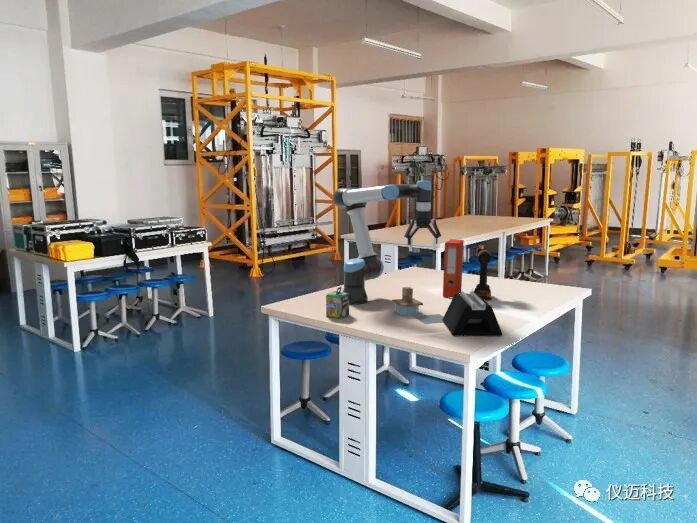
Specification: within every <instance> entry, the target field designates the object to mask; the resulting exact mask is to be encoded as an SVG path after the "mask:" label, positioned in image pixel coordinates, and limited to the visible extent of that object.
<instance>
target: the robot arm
mask: <svg viewBox="0 0 697 523" xmlns="http://www.w3.org/2000/svg"><path fill="white" fill-rule="evenodd" d="M432 190H433V189H432V182H431V181H430V180H417V182H416V183H415V184H412V183H401V184H387V185H380V186H379V185H378V186H372V187H364V188H363V187H362V188H361V187H340V188H338V189H336V190H335V191H334V192H333V195H332V201H333V204H334V206H336V207H337V208H339V209H345V211H346V214H348V215H349V217H350V221H351V225H352V231H353V234H354V239H355V244H356V248H357V251H358V256H357V258H350V259H347V260H345V262H344V264H343V290H342V292H346V293H350V294H349V305H350V304H351V305H359V304H365V303H368V302H369V300H368V299H369V298H368V294H367V291H366V285H365V283H366V281H370V280H375V279H378V278H379V277H381V276H382V274H383V273H384V267H385V266H384V265H385V264H384V263H383V260H381V259H380V258H379V257H378V254H377V253H376V252H375V251H374V249H373V243H372V239H371V235H370V231H369V227H368V226H369V225H368V223H367V218H366V214H365V211H366V209H367V207H366V205H367V203H371V202H378V201H380V202H381V201H392V200H400V199H402V200H405V199H414V200H416V203H415V204H416V205H415V207H416V208H415V210H416V213H415V214H416V215H415V220H414V219H410V223H409V225H408V227H407V228H406V232H405V233H404V235H403V237H404V238H406V239H407V245H408V251H409V252H413V243H414V242H413V241H414V240H413V237H414V235H416V233H417V231H419V230H420V229H427V230H428V231H429V233H430V234H431V235H432V236H433V237H432V251H437V244H438V241H439V238H441V237H442V233H441V231H440V229H439V227H438V225H437V220H436V218H435V219H434V218H432V219H431V217H432V216H431V213H432V212H431V209H432ZM415 224H416V225H415ZM431 224H432V226H431Z"/></svg>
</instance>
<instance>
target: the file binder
mask: <svg viewBox="0 0 697 523" xmlns="http://www.w3.org/2000/svg"><path fill="white" fill-rule="evenodd" d="M464 241H465V240H464V239H452V238H451V239H449V240H447V241H446V242H444V257H443V260H444V261H443V277H442V278H443V282H442V283H443V284H442V288H443V289H442V297H443V296H444V297H443V298H448V297H454V295H455V294H459V293H460V292H461V291H462V285H463V284H462V283H463V282H462V280H463V266H464V265H463V263H464V261H463V260H464ZM459 295H460V294H459Z"/></svg>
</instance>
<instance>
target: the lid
mask: <svg viewBox="0 0 697 523" xmlns="http://www.w3.org/2000/svg"><path fill="white" fill-rule="evenodd" d="M401 289H402V293H401V294H402V295H401V296H402V297H401V298H398V299H397V298H396V299H391V302H392V303H393V304H395V305H396V304H397V305H399V306H400V307H405V306H419V307H420V306H424V302H421V301H419V300H418V299H416V298H414V297H413V294H414V291H413V290H414V288H412V287H410V286H405V287H402V288H401Z"/></svg>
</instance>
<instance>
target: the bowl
mask: <svg viewBox="0 0 697 523" xmlns="http://www.w3.org/2000/svg"><path fill="white" fill-rule="evenodd" d="M419 310H420V305H419V306H405V307H400V306H399V305H397V304H395V313H396V314H397V315H400V316H417V315H418V314H419V312H420V311H419Z"/></svg>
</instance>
